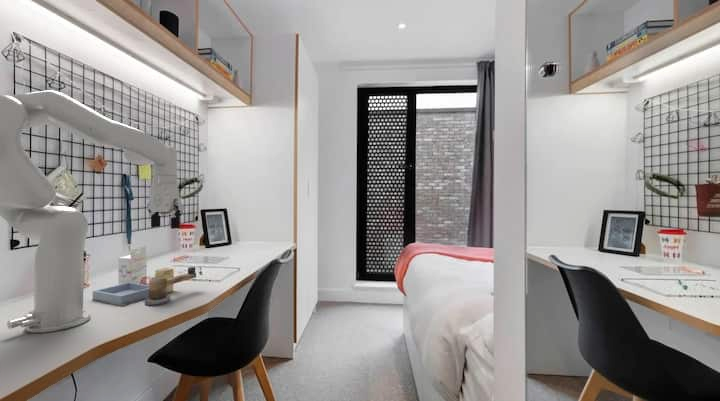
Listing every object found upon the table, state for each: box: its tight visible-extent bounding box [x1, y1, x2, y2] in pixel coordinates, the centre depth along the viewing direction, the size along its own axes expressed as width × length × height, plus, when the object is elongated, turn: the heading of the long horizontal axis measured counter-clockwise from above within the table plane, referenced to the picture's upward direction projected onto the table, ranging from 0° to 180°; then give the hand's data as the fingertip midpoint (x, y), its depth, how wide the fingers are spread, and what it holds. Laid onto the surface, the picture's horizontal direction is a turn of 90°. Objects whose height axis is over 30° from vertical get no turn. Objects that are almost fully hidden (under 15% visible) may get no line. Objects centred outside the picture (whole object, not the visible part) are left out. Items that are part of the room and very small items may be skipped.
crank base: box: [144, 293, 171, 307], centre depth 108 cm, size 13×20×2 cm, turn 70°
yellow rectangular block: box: [154, 267, 174, 293], centre depth 114 cm, size 4×4×8 cm
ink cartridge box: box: [117, 246, 148, 285], centre depth 119 cm, size 9×5×15 cm, turn 179°
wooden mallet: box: [148, 266, 197, 299], centre depth 108 cm, size 17×5×7 cm, turn 160°
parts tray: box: [92, 282, 149, 307], centre depth 106 cm, size 12×14×3 cm
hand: (165, 227), depth 114 cm, fingers open, 9 cm apart
